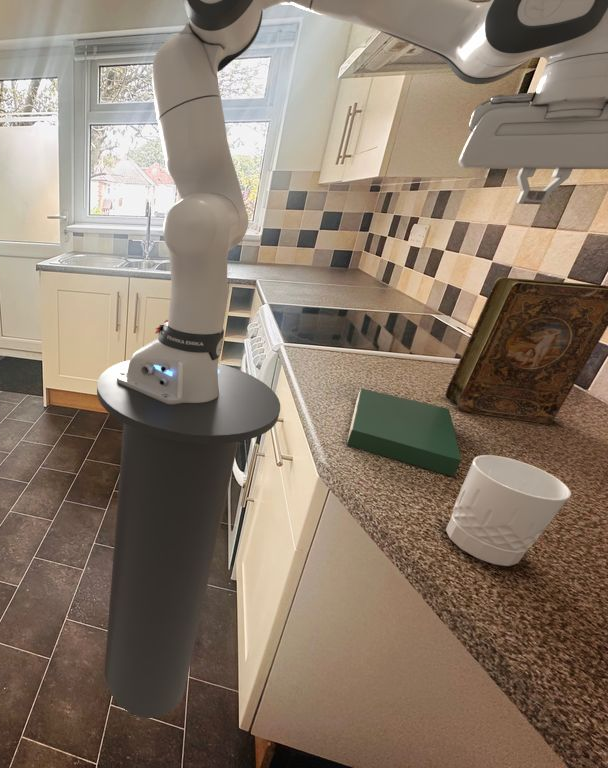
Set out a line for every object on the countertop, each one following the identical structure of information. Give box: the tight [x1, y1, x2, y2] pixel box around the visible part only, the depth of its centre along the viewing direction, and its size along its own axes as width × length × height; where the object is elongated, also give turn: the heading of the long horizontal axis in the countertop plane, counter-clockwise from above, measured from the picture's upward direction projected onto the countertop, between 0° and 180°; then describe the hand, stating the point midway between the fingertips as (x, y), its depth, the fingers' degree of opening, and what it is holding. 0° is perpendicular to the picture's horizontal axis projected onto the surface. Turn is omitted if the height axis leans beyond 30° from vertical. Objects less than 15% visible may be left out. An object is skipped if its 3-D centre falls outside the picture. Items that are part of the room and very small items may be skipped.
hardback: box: [346, 388, 462, 478], centre depth 72 cm, size 14×20×3 cm
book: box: [445, 276, 608, 425], centre depth 77 cm, size 16×6×25 cm, turn 73°
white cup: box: [445, 454, 572, 567], centre depth 47 cm, size 8×8×10 cm
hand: (530, 204), depth 61 cm, fingers closed
